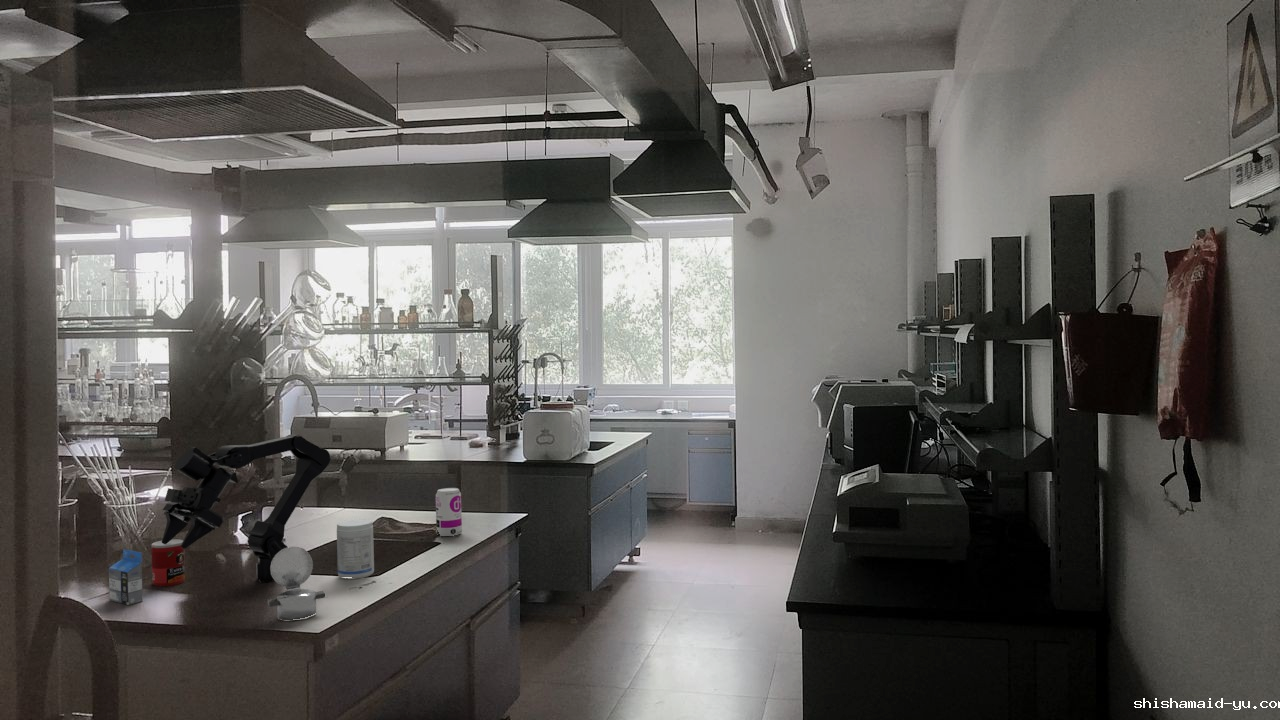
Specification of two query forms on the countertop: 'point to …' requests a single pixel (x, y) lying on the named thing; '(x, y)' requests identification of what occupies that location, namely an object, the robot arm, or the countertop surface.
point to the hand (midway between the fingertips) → (172, 545)
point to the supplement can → (448, 511)
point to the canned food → (168, 563)
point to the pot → (296, 603)
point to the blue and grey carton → (126, 579)
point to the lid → (291, 567)
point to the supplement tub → (355, 548)
